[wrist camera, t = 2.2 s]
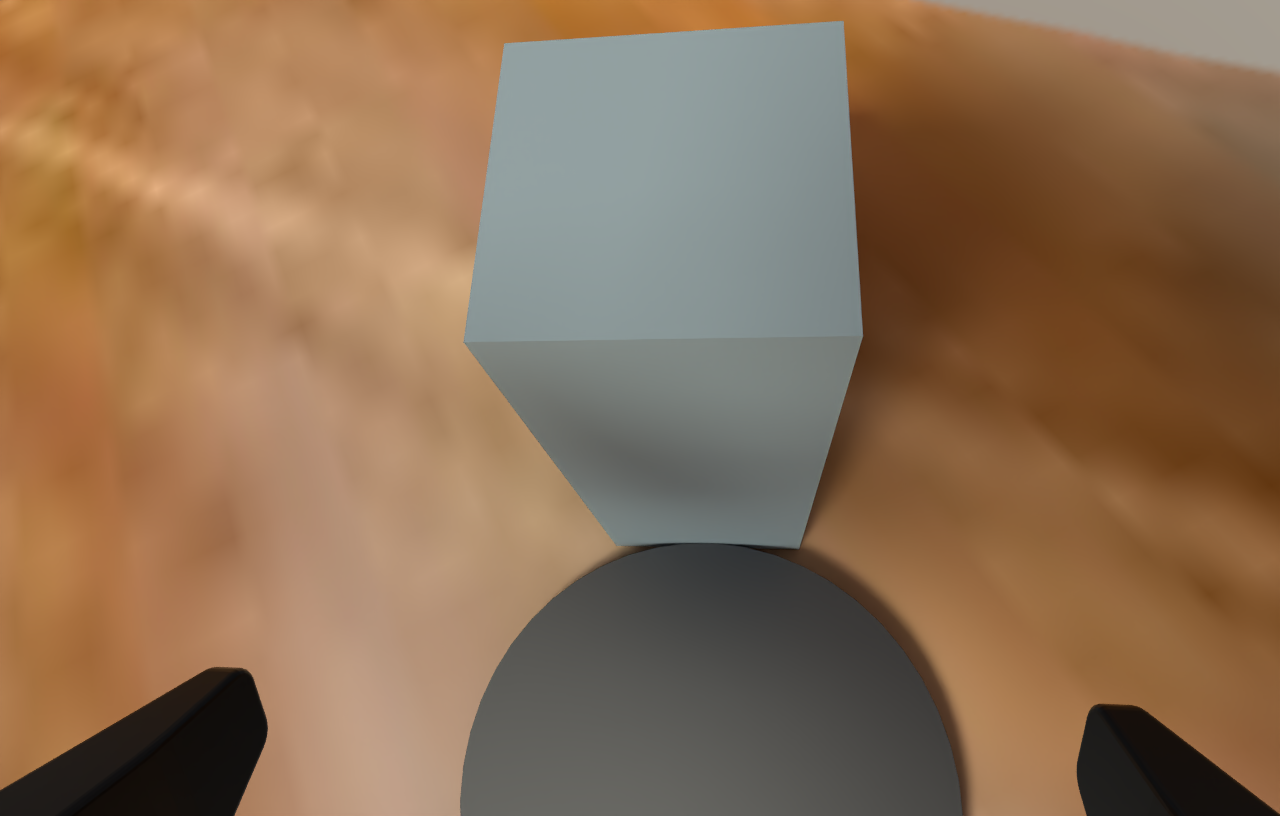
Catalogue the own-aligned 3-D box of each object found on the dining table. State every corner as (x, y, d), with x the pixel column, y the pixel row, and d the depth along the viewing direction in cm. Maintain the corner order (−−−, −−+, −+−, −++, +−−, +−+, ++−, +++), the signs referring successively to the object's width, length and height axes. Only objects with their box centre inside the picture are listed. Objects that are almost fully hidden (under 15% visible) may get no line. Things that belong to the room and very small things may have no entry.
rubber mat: (627, 1217, 17) (623, 1235, 16) (391, 709, 21) (382, 709, 21) (1070, 882, 18) (1080, 887, 18) (759, 465, 23) (760, 459, 22)
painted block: (798, 549, 22) (863, 335, 10) (616, 545, 22) (463, 342, 10) (794, 379, 23) (843, 21, 11) (625, 380, 24) (504, 43, 12)
